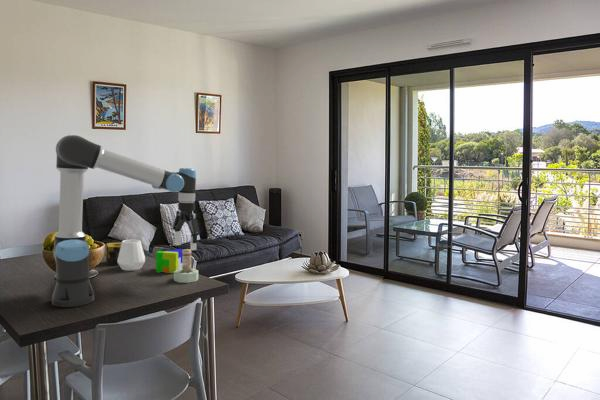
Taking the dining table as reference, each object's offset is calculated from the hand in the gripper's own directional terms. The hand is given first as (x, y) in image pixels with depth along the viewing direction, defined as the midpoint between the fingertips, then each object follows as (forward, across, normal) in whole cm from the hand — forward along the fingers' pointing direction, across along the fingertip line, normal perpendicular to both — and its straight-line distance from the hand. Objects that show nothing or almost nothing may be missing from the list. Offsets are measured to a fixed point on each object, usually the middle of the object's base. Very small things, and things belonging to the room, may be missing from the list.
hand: (185, 247), depth 221 cm
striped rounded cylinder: (+15, 0, -1) cm, 15 cm away
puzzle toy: (+16, +20, -3) cm, 25 cm away
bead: (+15, 0, -1) cm, 15 cm away
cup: (+16, +35, +10) cm, 39 cm away
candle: (+16, +50, +11) cm, 53 cm away
